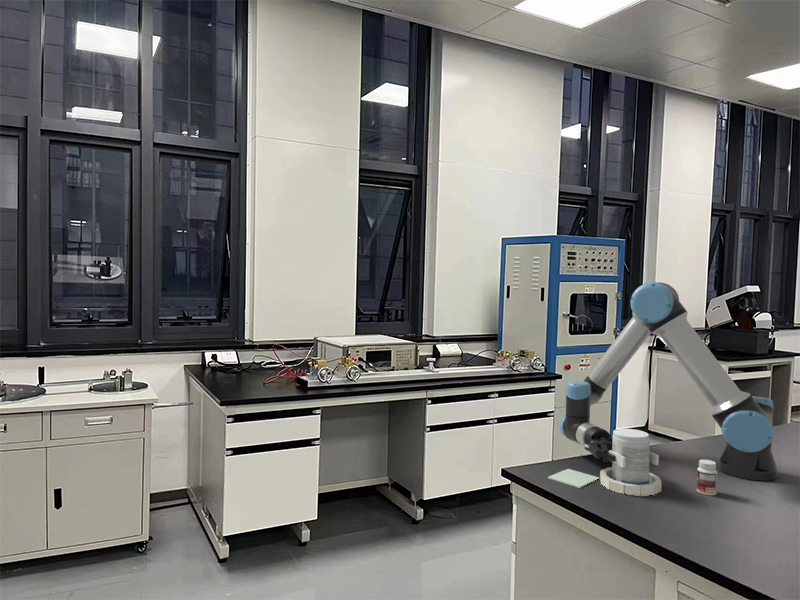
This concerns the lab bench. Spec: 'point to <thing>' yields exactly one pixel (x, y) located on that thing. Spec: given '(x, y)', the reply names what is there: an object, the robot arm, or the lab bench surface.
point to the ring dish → (630, 488)
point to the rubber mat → (573, 478)
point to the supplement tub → (631, 456)
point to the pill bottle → (707, 477)
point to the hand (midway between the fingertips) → (641, 461)
